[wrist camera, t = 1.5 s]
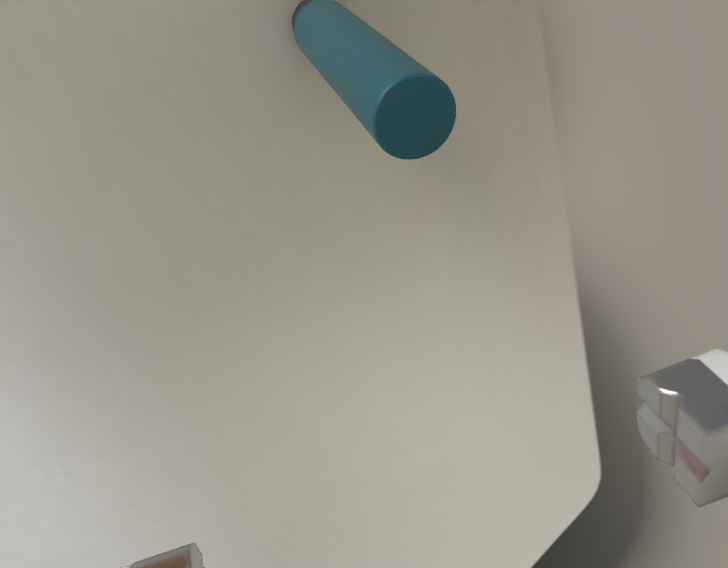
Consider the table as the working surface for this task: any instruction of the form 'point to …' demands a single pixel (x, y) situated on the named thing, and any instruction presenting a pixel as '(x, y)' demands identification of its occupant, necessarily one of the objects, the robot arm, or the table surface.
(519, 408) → the table surface
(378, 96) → the marker
